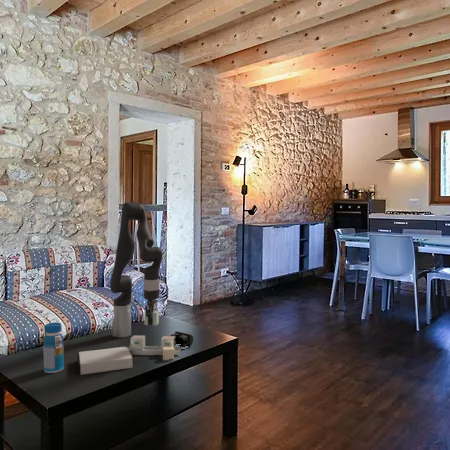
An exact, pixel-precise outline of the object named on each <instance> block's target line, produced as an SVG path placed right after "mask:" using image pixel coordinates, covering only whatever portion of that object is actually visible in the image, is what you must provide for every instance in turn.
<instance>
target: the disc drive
mask: <svg viewBox="0 0 450 450" xmlns="http://www.w3.org/2000/svg"><path fill="white" fill-rule="evenodd" d="M128 348H129V347H128V346H120V347H111V348H104V349H103V348H101V349H95V350H85V351H76V352H77V354H76V355H77V356H76V357H77V368H78V369H77V370H78V372H77V373H78V376H82V375H88V374H89V375H90V374H96V373H103V372H109V371H110V372H111V371H118V370H124V369H132V368H133V355H131V354H130V352H129V350H128Z"/></svg>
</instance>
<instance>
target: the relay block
mask: <svg viewBox="0 0 450 450" xmlns="http://www.w3.org/2000/svg"><path fill="white" fill-rule="evenodd" d="M169 359H174V360H175V356H174V347H163V356H162V361H170V360H169Z"/></svg>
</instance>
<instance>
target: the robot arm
mask: <svg viewBox="0 0 450 450" xmlns="http://www.w3.org/2000/svg"><path fill="white" fill-rule="evenodd" d="M147 218H148V217H147V214H146V211H145V207H144V205H143V204H142V203H140V202H139V203H138V202H128V201H127V202H124V203H123V205H122V207H121V214H120V228H119V233H118V234H119V235H118V240H117V246H116V253H115V259H114V265H113V269H112V273H111V277H110V283H109V288H110V291H111V292H112V293H113V294H120V295H119V296H118V297H116V298H114V300H113V318H112V324H111V325H112V337H114V338H128V337H130V336H131V335H132V313H131V312H132V311H131V310H132V309H131V303H132V302H131V301H132V299H133V298H132V295H133V294H132V293H133V281H132V277H131V276H130V275H128V274H124V275H123V272H124V270H125V269H126V267H127V266H128V265H129V264H130V262H131V260H132V259H133V257H134V254H135V248H136V241H135V239H134V237H133V235H132V233H131V231H130V228H129V227H130V226H129V223H130V221H138V222H139V225H138V227H137V229H136V235H135V236H136V239H137V241H138V244H139V250H140V251H139V253H140V255H139V256H140V259H141V261H142V262H144V263H150V262H151V263H152V264H151V265H148V266H146V267H145V268H144V269H143V271H144V272H143V299H145V300H147V302H146V303H145V306H144V307H145V308H144V309H145V312H146V317H148V325H147V326H153V325H152V324H153V312H154V311H158V299H159V298H160V266H161V263H162V260H163V256H164V255H163V249H162V248H161V247H160V246H154V244H155V241H154V238H153V235H152V234H151V232H150V228H149V224H148V223H149V222H148V219H147ZM149 313H150V314H149Z"/></svg>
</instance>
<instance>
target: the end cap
mask: <svg viewBox="0 0 450 450" xmlns="http://www.w3.org/2000/svg"><path fill="white" fill-rule="evenodd" d="M169 336H175V345H176V344H181V345H179V346H180V347H185V346H190V347H191V346H192V345H193V343H194V336H193V334H190V333H185V332H182V331H175V332H174V333H172V334H170V335H169Z"/></svg>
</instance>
